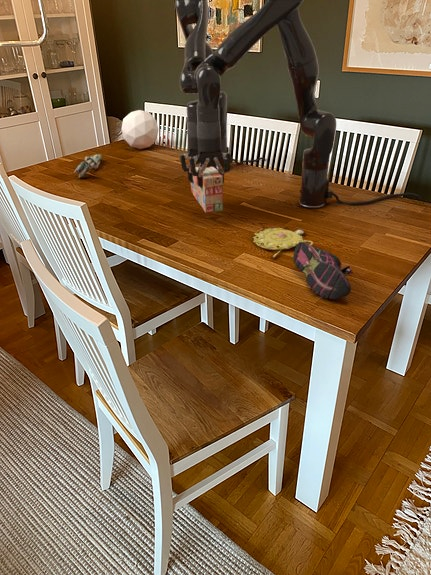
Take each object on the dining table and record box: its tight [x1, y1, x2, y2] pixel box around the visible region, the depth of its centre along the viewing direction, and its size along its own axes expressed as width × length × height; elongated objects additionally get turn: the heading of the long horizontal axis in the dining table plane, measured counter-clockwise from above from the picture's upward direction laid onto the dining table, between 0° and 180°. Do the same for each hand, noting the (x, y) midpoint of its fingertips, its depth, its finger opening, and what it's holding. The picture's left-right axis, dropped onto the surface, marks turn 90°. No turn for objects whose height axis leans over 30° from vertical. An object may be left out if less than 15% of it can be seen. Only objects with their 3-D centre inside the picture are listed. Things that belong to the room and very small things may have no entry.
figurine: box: [73, 154, 103, 179], centre depth 208 cm, size 7×8×30 cm
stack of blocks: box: [190, 166, 224, 214], centre depth 156 cm, size 21×6×12 cm, turn 17°
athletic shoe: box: [292, 242, 354, 300], centre depth 118 cm, size 11×22×12 cm
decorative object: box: [252, 227, 314, 259], centre depth 140 cm, size 21×2×20 cm
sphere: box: [121, 109, 159, 150], centre depth 235 cm, size 19×20×20 cm
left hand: (200, 180), depth 162 cm, fingers closed on stack of blocks, 6 cm apart
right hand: (210, 185), depth 149 cm, fingers closed on stack of blocks, 6 cm apart
